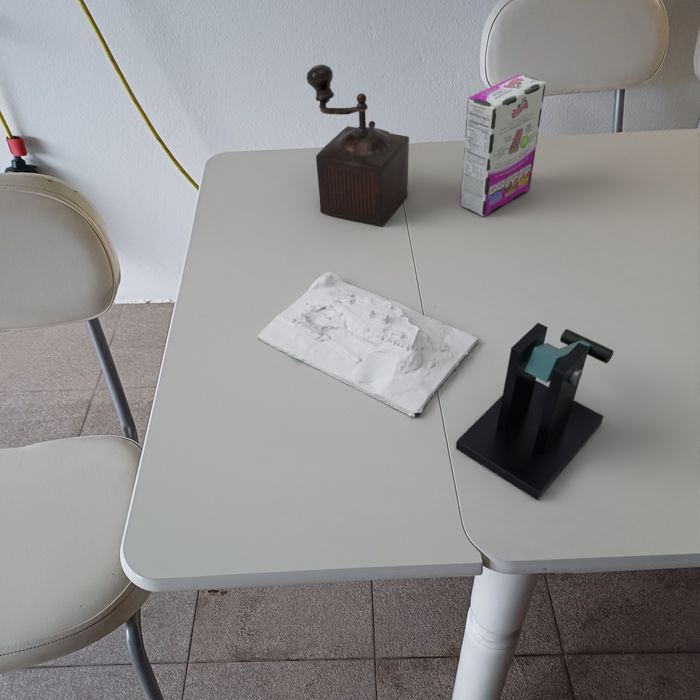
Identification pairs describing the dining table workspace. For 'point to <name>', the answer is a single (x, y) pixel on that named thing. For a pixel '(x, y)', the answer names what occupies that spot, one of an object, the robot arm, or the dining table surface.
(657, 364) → the dining table surface
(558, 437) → the switch bracket
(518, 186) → the candy bar box
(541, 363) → the switch lever
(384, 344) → the terrain model
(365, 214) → the manual coffee grinder
